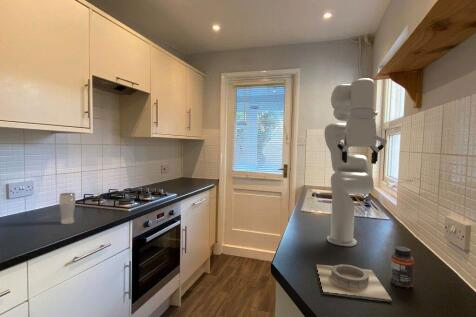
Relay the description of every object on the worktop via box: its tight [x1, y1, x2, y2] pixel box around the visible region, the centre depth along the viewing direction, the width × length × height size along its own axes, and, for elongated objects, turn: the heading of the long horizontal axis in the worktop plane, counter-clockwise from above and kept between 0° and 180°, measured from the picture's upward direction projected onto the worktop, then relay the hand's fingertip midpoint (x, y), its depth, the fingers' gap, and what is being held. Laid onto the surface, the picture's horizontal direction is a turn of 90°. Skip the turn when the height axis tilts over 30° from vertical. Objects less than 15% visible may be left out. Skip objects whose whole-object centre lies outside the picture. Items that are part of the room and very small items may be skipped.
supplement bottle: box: [390, 246, 415, 289], centre depth 83 cm, size 6×6×11 cm
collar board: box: [316, 263, 393, 302], centre depth 84 cm, size 18×18×4 cm
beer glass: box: [58, 192, 76, 225], centre depth 138 cm, size 7×7×15 cm
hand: (359, 163), depth 96 cm, fingers open, 9 cm apart
